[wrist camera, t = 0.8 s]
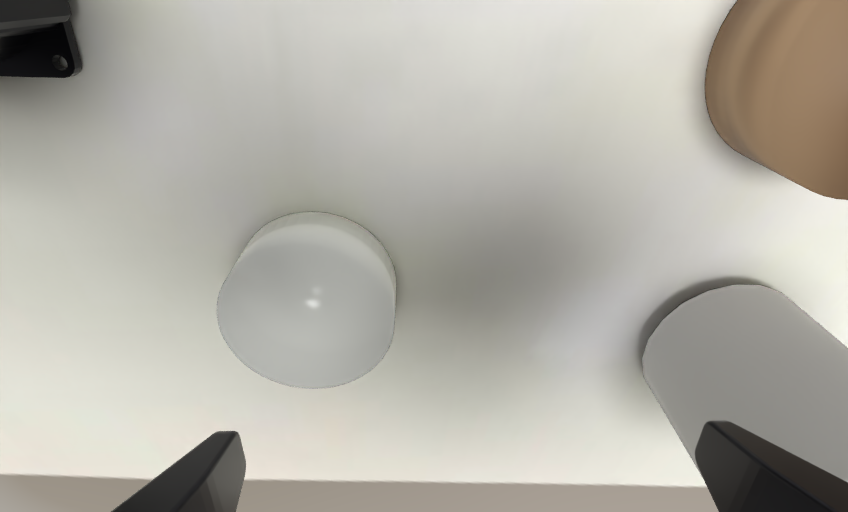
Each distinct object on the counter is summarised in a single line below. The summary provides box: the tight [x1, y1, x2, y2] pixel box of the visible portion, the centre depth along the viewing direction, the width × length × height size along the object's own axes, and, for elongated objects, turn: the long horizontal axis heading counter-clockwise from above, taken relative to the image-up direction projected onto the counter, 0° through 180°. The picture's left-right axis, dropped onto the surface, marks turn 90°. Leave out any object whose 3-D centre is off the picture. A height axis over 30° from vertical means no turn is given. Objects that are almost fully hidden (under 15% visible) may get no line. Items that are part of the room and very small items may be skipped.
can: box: [642, 284, 848, 482], centre depth 20 cm, size 8×8×12 cm
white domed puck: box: [217, 212, 396, 389], centre depth 22 cm, size 7×7×3 cm
